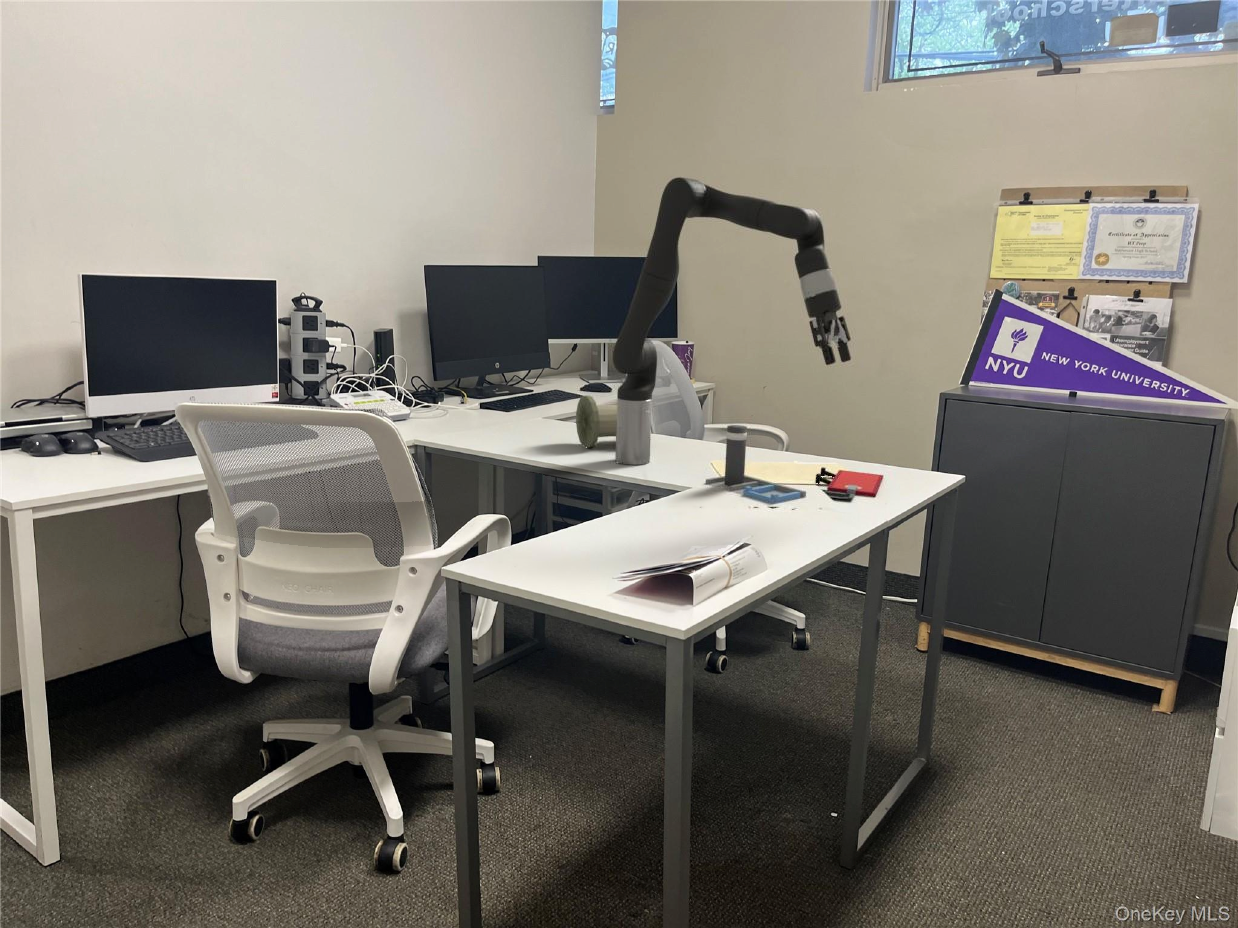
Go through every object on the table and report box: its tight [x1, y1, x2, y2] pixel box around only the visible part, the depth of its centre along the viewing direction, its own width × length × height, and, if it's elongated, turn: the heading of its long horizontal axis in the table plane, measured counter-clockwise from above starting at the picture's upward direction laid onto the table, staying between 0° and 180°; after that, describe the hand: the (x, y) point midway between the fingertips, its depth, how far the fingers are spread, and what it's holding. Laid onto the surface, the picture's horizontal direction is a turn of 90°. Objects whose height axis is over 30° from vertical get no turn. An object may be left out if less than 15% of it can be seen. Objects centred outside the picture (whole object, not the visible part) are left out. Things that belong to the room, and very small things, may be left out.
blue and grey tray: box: [704, 474, 807, 510], centre depth 208 cm, size 22×11×3 cm, turn 38°
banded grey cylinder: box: [724, 424, 748, 486], centre depth 212 cm, size 5×5×14 cm
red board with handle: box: [814, 466, 884, 501], centre depth 219 cm, size 30×3×15 cm
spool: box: [575, 394, 617, 449], centre depth 261 cm, size 16×15×15 cm
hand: (838, 362), depth 202 cm, fingers open, 8 cm apart
